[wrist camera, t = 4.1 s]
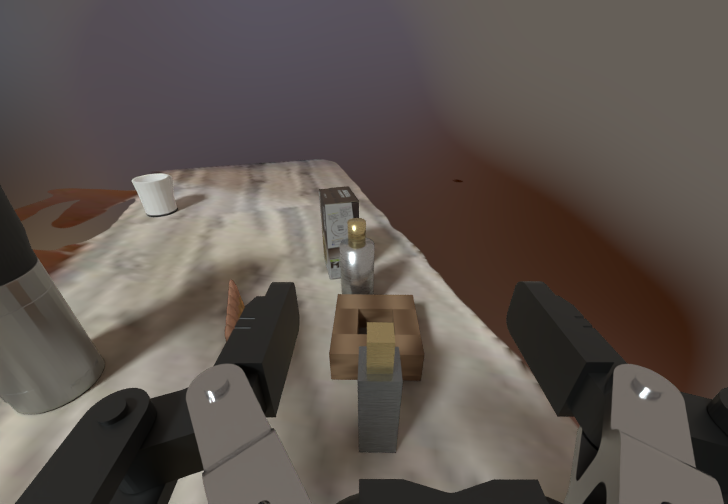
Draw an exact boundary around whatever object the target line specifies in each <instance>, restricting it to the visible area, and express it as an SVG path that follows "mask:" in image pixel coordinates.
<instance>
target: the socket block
mask: <svg viewBox="0 0 728 504" xmlns="http://www.w3.org/2000/svg"><path fill="white" fill-rule="evenodd" d="M367 322H382V323H393V324H394V335H395V347H399V352H400V361H401V371H402V380H407V381H421V375H422V368H423V361H424V351H423V345H422V340H421V335H420V330H419V325H418V320H417V315H416V309H415V304H414V299H413V295H362V294H338V298H337V304H336V311H335V318H334V325H333V332H332V339H331V345H330V352H329V357H330V368H331V379H338V380H358V358H359V346H367Z"/></svg>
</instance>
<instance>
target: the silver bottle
mask: <svg viewBox="0 0 728 504" xmlns="http://www.w3.org/2000/svg"><path fill="white" fill-rule="evenodd" d="M339 246H340V266H341V287H342V294H362V295H373V294H374V242H373V241H372V240H371V239H369V238H366V221H365V220H364V219H362V218H352V219H349V220H348V238H346V239H344V240H342V241H341V242H340V245H339Z"/></svg>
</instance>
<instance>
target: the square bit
mask: <svg viewBox="0 0 728 504" xmlns="http://www.w3.org/2000/svg"><path fill="white" fill-rule="evenodd" d="M402 384H403V380H402V371H401V361H400V352H399V347H395V335H394V324H393V323H382V322H367V346H359V358H358V427H359V452H382V453H396V445H397V435H398V425H399V414H400V404H401V394H402Z"/></svg>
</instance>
